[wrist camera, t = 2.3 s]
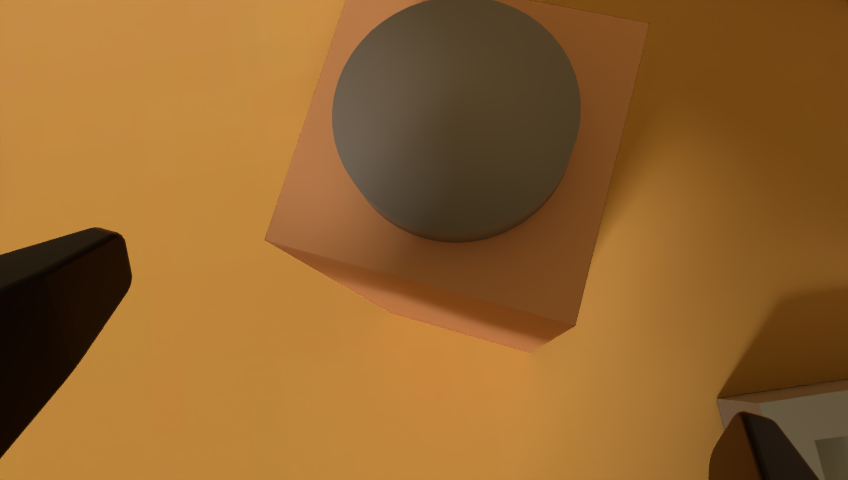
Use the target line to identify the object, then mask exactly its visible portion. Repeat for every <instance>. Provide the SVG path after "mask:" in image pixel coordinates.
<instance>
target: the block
mask: <svg viewBox="0 0 848 480" xmlns="http://www.w3.org/2000/svg"><path fill="white" fill-rule="evenodd" d="M649 24H650V23H645V22H640V21H634V20H629V19H624V18H619V17H614V16H609V15H604V14H598V13H593V12H588V11H583V10H578V9H573V8H568V7H563V6H557V5H552V4H547V3H542V2H537V1H532V0H346V1H345V4H344V7H343V10H342V13H341V16H340V19H339V22H338V25H337V28H336V31H335V34H334V36H333V39H332V42H331V45H330V48H329V51H328V54H327V57H326V60H325V63H324V66H323V69H322V72H321V75H320V78H319V81H318V84H317V87H316V90H315V93H314V95H313V98H312V101H311V104H310V107H309V110H308V113H307V116H306V119H305V122H304V125H303V128H302V131H301V134H300V137H299V140H298V143H297V146H296V149H295V152H294V154H293V157H292V160H291V163H290V166H289V169H288V172H287V175H286V178H285V181H284V184H283V187H282V190H281V193H280V196H279V199H278V202H277V205H276V208H275V211H274V213H273V216H272V219H271V222H270V225H269V228H268V231H267V234H266V237H265V240H266V241H267V242H269V243H271V244H273V245H274V246H276V247H278V248H279V249H281V250H283V251H285V252H286V253H288V254H290V255H292V256H293V257H295V258H297V259H299V260H300V261H302V262H304V263H305V264H307V265H309V266H311V267H312V268H314V269H316V270H318V271H319V272H321V273H323V274H324V275H326V276H328V277H330V278H331V279H333V280H335V281H337V282H338V283H340V284H342V285H343V286H345V287H347V288H349V289H350V290H352V291H354V292H356V293H357V294H359V295H361V296H363V297H364V298H366V299H368V300H369V301H371V302H373V303H375V304H376V305H378V306H380V307H382V308H383V309H385V310H387V311H388V312H390V313H393V314H397V315H400V316H404V317H407V318H411V319H414V320H418V321H421V322H425V323H428V324H431V325H435V326H438V327H442V328H445V329H449V330H452V331H456V332H459V333H463V334H466V335H470V336H473V337H477V338H480V339H484V340H487V341H491V342H494V343H498V344H501V345H505V346H508V347H512V348H515V349H519V350H522V351H526V352H529V353H531V352H532V351H534V350H536V349H537V348H539V347H541V346H542V345H544V344H546V343H547V342H549V341H551V340H552V339H554V338H556V337H557V336H559V335H561V334H562V333H564V332H566V331H567V330H569V329H571V328H572V327H574V326H575V325H576V321H577V317H578V313H579V309H580V305H581V301H582V296H583V292H584V288H585V284H586V280H587V276H588V272H589V268H590V264H591V260H592V256H593V252H594V248H595V244H596V240H597V235H598V231H599V227H600V223H601V219H602V215H603V211H604V207H605V203H606V199H607V195H608V191H609V187H610V183H611V179H612V174H613V170H614V166H615V162H616V158H617V154H618V150H619V146H620V142H621V138H622V134H623V130H624V126H625V122H626V118H627V113H628V109H629V105H630V101H631V97H632V93H633V89H634V85H635V81H636V77H637V73H638V69H639V65H640V61H641V57H642V52H643V48H644V44H645V40H646V36H647V32H648V28H649Z"/></svg>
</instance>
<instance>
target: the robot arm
mask: <svg viewBox="0 0 848 480" xmlns="http://www.w3.org/2000/svg"><path fill="white" fill-rule="evenodd" d="M131 281H132V272H131V267H130V262H129V257H128V252H127V247H126V242H125V239H124V238H123V237H122V235H120V234H119V233H117V232H113V231H110V230H106V229H103V228H97V227H94V228H89V229H86V230H83V231H79V232H76V233H73V234H69V235H66V236H62V237H59V238H56V239H52V240H49V241H46V242H42V243H39V244H36V245H32V246H29V247H25V248H22V249H19V250H15V251H12V252H9V253H5V254H2V255H0V458H1V457H2V456H3V455H4V454H5V452H6V451H7V450H8V449H9V448H10V446H11V445H12V444H13V443H14V442H15V440H16V439H17V438H18V437H19V436H20V434H21V433H22V432H23V431H24V430H25V429H26V427H27V426H28V425H29V424H30V423H31V421H32V420H33V419H34V418H35V417H36V415H37V414H38V413H39V412H40V411H41V409H42V408H43V407H44V406H45V405H46V403H47V402H48V401H49V400H50V399H51V397H52V396H53V395H54V394H55V393H56V391H57V390H58V389H59V388H60V387H61V386H62V384H63V383H64V382H65V381H66V379H67V378H68V377H69V376H70V374H71V373H72V372H73V371H74V369H75V368H76V366H77V365H78V364H79V362H80V361H81V359H82V358H83V357H84V355H85V354H86V352H87V351H88V349H89V348H90V346H91V345H92V343H93V342H94V340H95V339H96V338H97V336H98V335H99V333H100V332H101V330H102V329H103V327H104V326H105V324H106V323H107V321H108V320H109V318H110V317H111V315H112V314H113V312H114V311H115V310H116V308H117V307H118V305H119V304H120V302H121V301H122V299H123V298H124V296H125V295H126V293H127V292H128V290H129V288H130V285H131ZM709 480H819V478H818V477H817V476H816V474H815V473H814V472H813V470H812V469H811V468H810V466H809V465H808V464H807V462H806V461H805V460H804V458H803V457H802V456H801V455H800V453H799V452H798V451H797V449H796V448H795V447H794V445H793V444H792V443H791V441H790V440H789V439H788V437H787V436H786V435H785V433H784V432H783V431H782V430H781V428H780V427H779V426H778V424H777V423H776V422H775V421H773V420H772V419H770V418H767V417H764V416H760V415H757V414H753V413H750V412H746V411H740V412H738V413H736V414H735V415H734V417H733V418H732V419H731V421H730V423H729V424H728V426H727V428H726V429H725V431H724V433H723V434H722V436H721V437H720V439H719V441H718V442H717V444H716V446H715V447H714V449H713V452H712V454H711V458H710V464H709Z"/></svg>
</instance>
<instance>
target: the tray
mask: <svg viewBox="0 0 848 480" xmlns="http://www.w3.org/2000/svg"><path fill="white" fill-rule="evenodd" d="M717 402H718V406H719V410H720V414H721V418H722V422H723V426H724V430H725V429H726V428H727V426H728V424H729V423H730V421H731V419H732V418H733V417H734V415H735V414H736V413H738V412H740V411H746V412H750V413H753V414H757V415H760V416H764V417H767V418H770V419H772V420H773V421H775V422H776V423H777V424H778V426H779V427H780V428H781V430H782V431H783V432H784V433H785V435H786V436H787V437H788V439H789V440H790V441H791V443H792V444H793V445H794V447H795V448H796V449H797V451H798V452H799V453H800V455H801V456H802V457H803V458H804V460H805V461H806V462H807V464H808V465H809V466H810V468H811V469H812V470H813V472H814V473H815V474H816V476H817V477H818V478H819V480H848V379H844V380H837V381H830V382H824V383H817V384H810V385H804V386H797V387H790V388H784V389H777V390H770V391H764V392H757V393H750V394H744V395H737V396H730V397H724V398H717Z"/></svg>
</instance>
